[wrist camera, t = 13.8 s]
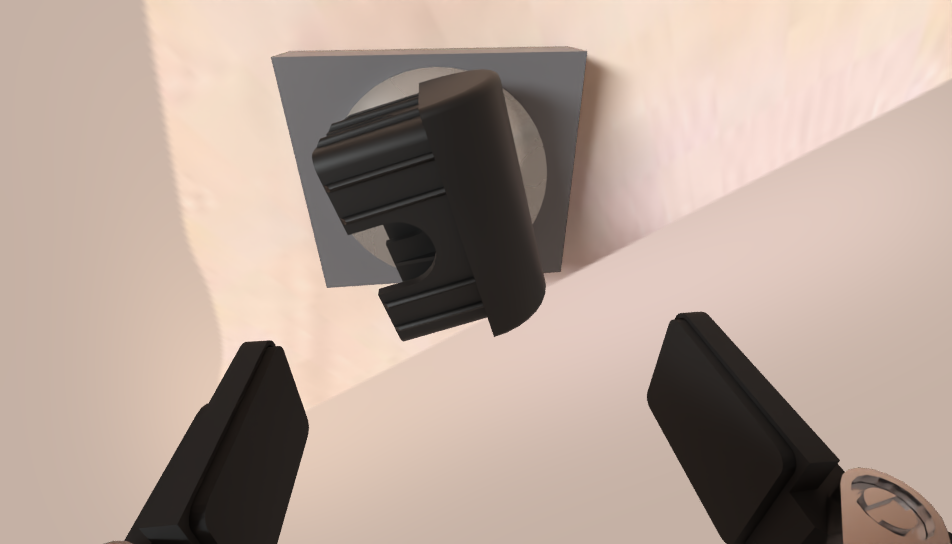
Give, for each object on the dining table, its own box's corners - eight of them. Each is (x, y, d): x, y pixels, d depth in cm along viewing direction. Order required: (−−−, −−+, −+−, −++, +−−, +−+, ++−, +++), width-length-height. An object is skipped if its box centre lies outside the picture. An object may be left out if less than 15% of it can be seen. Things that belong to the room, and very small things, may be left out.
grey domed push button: (567, 46, 22) (590, 51, 19) (547, 248, 28) (562, 275, 25) (289, 51, 20) (267, 57, 17) (335, 261, 27) (325, 291, 24)
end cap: (528, 246, 24) (562, 320, 18) (411, 281, 24) (408, 364, 18) (484, 58, 18) (513, 80, 13) (334, 107, 19) (296, 149, 13)
